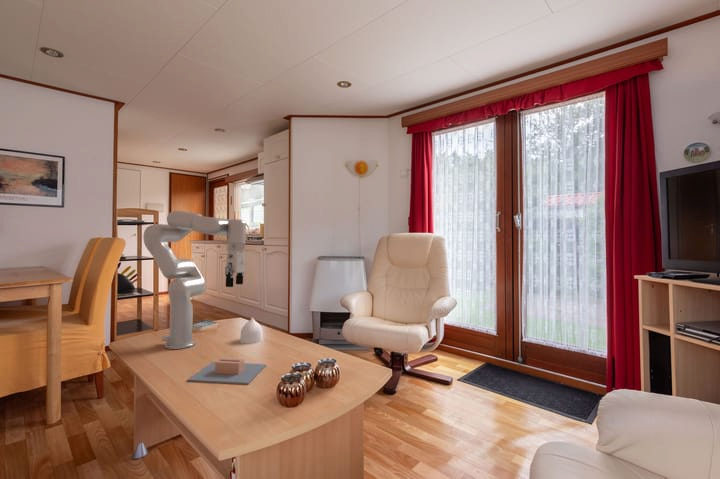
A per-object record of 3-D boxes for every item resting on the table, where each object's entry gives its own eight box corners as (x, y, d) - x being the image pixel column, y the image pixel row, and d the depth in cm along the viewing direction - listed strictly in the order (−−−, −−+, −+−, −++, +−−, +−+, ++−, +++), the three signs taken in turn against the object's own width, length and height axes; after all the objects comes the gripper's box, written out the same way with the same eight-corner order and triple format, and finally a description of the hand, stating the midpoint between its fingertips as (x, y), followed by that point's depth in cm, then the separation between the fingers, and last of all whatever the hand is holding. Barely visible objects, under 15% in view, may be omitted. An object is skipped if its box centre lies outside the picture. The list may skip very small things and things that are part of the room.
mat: (187, 381, 118) (187, 379, 118) (212, 363, 136) (212, 361, 136) (248, 384, 117) (248, 382, 117) (266, 365, 135) (266, 364, 135)
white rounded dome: (237, 339, 170) (237, 315, 170) (258, 336, 177) (259, 313, 177) (243, 345, 161) (244, 319, 161) (266, 341, 168) (266, 317, 168)
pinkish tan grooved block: (238, 374, 124) (238, 362, 124) (214, 372, 125) (215, 361, 125) (243, 369, 128) (243, 358, 129) (220, 368, 129) (221, 357, 129)
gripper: (235, 247, 141) (233, 288, 141) (252, 247, 158) (250, 283, 158) (218, 247, 142) (216, 287, 141) (236, 246, 159) (235, 282, 159)
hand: (234, 285), depth 150 cm, fingers open, 9 cm apart
